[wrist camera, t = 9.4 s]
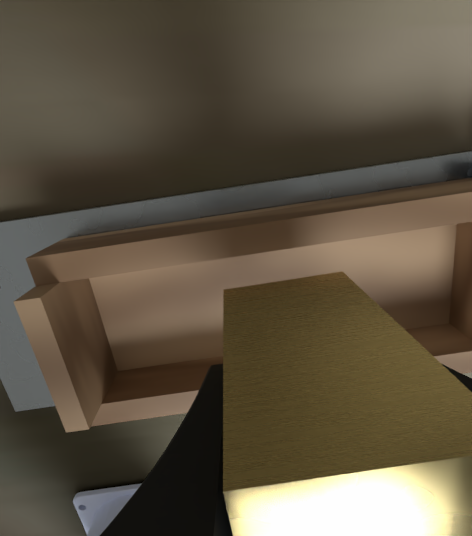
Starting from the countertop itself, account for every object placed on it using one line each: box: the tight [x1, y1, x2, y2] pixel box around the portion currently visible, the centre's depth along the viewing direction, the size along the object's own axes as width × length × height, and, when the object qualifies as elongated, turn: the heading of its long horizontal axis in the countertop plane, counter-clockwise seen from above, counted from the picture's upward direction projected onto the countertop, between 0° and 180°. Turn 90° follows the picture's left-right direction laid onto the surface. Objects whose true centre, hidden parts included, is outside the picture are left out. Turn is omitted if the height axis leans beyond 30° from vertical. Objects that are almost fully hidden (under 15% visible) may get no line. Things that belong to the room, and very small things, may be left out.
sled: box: [14, 178, 472, 433], centre depth 15 cm, size 9×20×5 cm, turn 98°
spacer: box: [223, 271, 472, 536], centre depth 8 cm, size 4×4×7 cm
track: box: [0, 150, 472, 412], centre depth 17 cm, size 11×29×3 cm, turn 98°
